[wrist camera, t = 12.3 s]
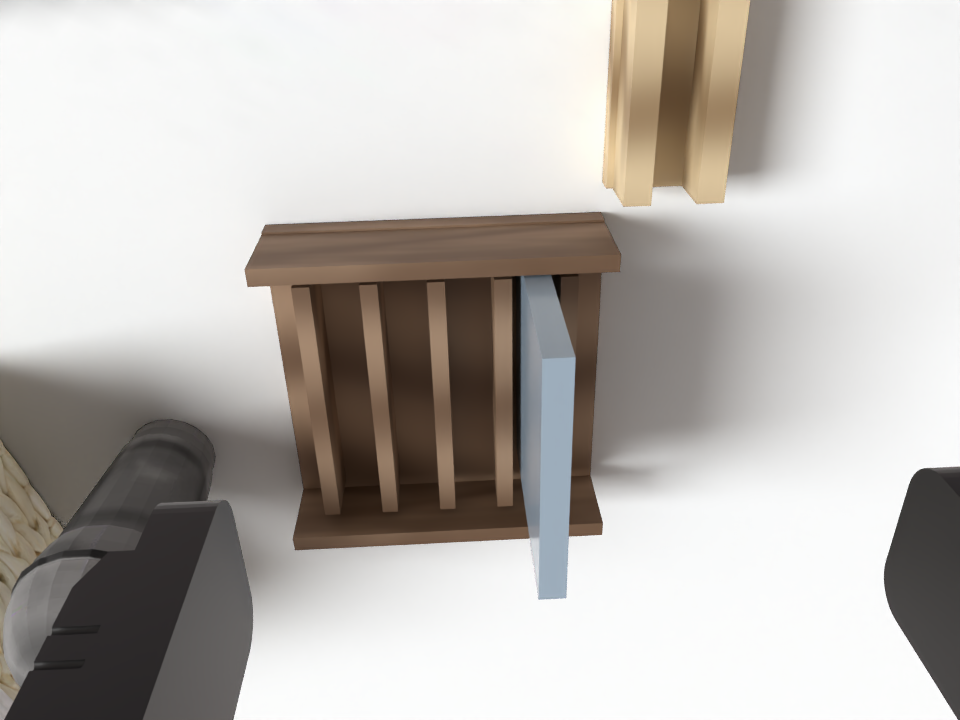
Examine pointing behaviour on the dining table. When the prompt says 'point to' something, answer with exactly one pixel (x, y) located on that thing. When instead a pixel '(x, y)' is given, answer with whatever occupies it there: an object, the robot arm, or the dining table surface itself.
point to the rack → (424, 369)
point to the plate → (544, 427)
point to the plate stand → (672, 96)
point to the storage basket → (18, 547)
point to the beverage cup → (105, 528)
